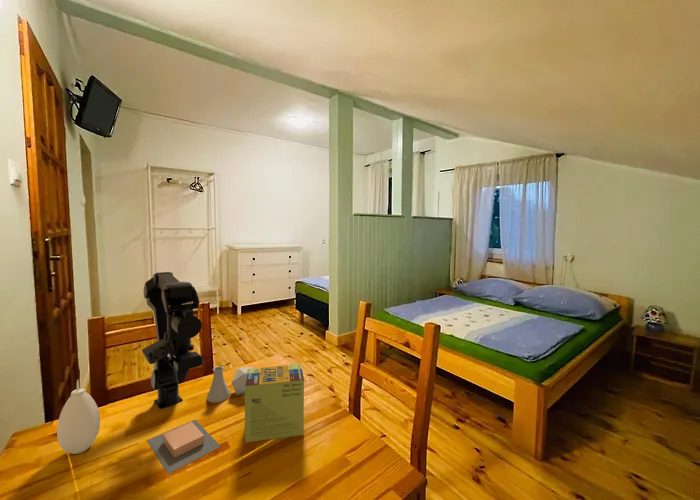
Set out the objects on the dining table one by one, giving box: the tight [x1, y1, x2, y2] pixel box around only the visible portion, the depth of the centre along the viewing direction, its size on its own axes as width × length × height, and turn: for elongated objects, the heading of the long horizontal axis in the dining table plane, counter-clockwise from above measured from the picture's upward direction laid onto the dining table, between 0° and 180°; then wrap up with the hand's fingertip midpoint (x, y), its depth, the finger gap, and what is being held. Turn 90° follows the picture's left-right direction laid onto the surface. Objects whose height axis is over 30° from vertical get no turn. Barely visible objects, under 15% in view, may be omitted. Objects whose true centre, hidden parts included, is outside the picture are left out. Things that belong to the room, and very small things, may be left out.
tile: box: [163, 421, 204, 458], centre depth 77 cm, size 2×7×8 cm
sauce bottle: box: [56, 379, 101, 455], centre depth 74 cm, size 8×8×18 cm
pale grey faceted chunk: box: [231, 366, 256, 396], centre depth 103 cm, size 8×9×10 cm
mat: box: [146, 419, 222, 475], centre depth 77 cm, size 16×12×1 cm
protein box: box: [244, 363, 305, 443], centre depth 85 cm, size 10×15×16 cm
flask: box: [205, 365, 231, 404], centre depth 99 cm, size 7×7×10 cm
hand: (180, 383), depth 85 cm, fingers closed
